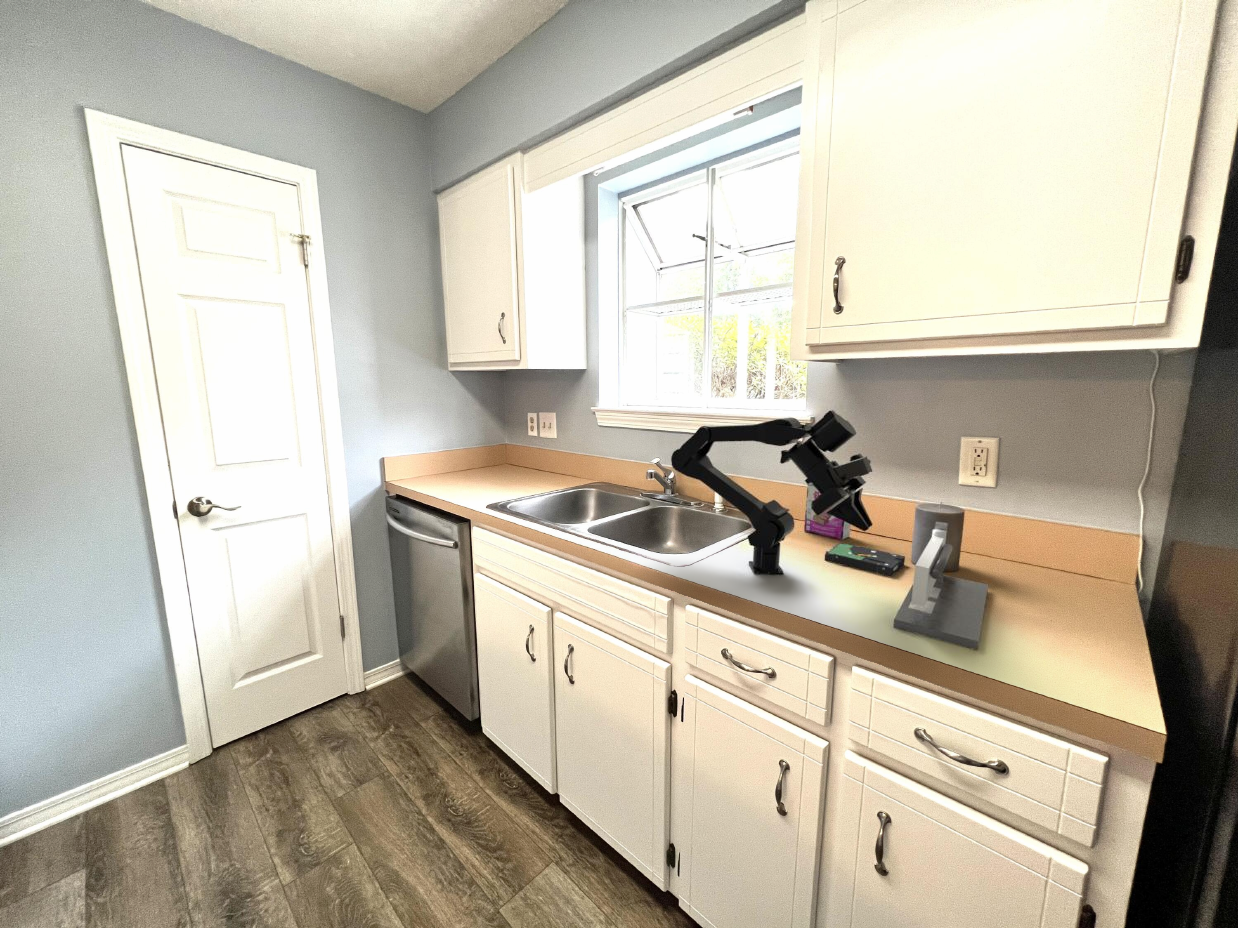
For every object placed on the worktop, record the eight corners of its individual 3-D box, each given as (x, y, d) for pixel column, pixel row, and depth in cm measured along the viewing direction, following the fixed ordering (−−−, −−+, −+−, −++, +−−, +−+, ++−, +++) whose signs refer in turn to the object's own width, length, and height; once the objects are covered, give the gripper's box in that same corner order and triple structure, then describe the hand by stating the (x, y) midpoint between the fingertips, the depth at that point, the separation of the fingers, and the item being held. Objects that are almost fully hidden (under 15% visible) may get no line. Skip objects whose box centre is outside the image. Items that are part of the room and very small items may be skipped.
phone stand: (893, 626, 87) (900, 555, 85) (919, 576, 110) (925, 519, 107) (977, 650, 80) (987, 572, 78) (987, 591, 102) (995, 529, 100)
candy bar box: (803, 531, 142) (807, 474, 139) (811, 528, 145) (815, 472, 143) (842, 540, 134) (847, 480, 131) (850, 536, 137) (855, 478, 135)
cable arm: (928, 569, 106) (933, 528, 104) (950, 573, 103) (955, 531, 102) (909, 608, 87) (914, 559, 86) (935, 615, 85) (941, 564, 84)
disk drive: (904, 567, 117) (839, 551, 127) (905, 555, 117) (840, 541, 127) (891, 579, 110) (823, 562, 120) (892, 567, 109) (824, 550, 119)
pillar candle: (963, 564, 117) (970, 502, 115) (952, 575, 110) (960, 509, 108) (916, 554, 124) (922, 495, 122) (904, 564, 117) (909, 502, 115)
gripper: (833, 446, 92) (894, 514, 87) (859, 437, 106) (912, 495, 102) (788, 482, 98) (843, 548, 93) (818, 469, 113) (867, 526, 108)
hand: (868, 528), depth 99 cm, fingers open, 3 cm apart
